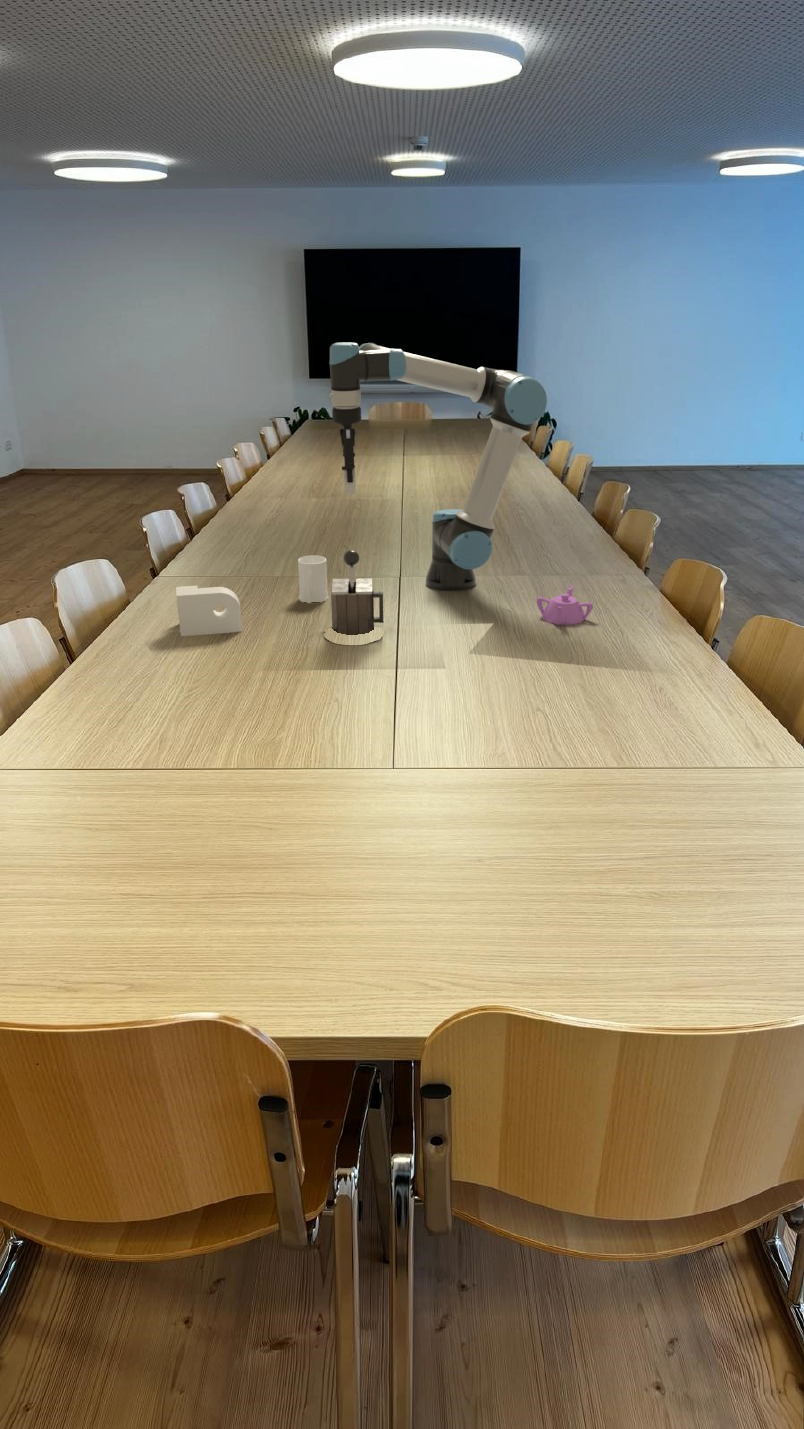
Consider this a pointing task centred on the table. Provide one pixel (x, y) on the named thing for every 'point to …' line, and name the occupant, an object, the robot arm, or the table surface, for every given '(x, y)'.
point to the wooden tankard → (354, 606)
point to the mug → (312, 579)
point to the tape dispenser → (207, 610)
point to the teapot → (563, 609)
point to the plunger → (351, 565)
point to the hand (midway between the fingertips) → (349, 488)
